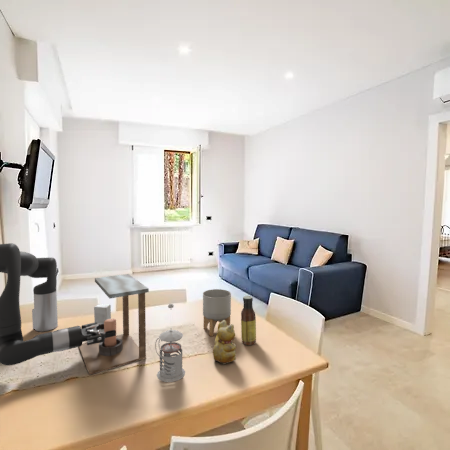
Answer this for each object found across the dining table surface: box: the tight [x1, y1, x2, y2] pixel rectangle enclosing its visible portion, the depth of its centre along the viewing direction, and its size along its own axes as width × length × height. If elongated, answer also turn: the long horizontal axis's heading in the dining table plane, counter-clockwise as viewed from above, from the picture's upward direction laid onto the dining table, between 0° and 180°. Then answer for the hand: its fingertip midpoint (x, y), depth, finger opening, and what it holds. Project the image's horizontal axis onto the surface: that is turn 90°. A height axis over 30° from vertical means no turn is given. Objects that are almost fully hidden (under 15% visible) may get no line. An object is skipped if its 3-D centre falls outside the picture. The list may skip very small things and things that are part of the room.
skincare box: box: [93, 303, 112, 332], centre depth 137 cm, size 6×4×12 cm
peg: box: [104, 318, 117, 347], centre depth 117 cm, size 4×4×12 cm
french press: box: [154, 303, 186, 383], centre depth 103 cm, size 10×12×25 cm
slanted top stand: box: [78, 273, 150, 376], centre depth 117 cm, size 21×26×27 cm
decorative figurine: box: [212, 320, 237, 365], centre depth 112 cm, size 10×8×15 cm
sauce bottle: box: [240, 295, 257, 346], centre depth 126 cm, size 7×6×20 cm
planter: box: [202, 288, 232, 337], centre depth 138 cm, size 13×13×18 cm
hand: (112, 328), depth 118 cm, fingers open, 8 cm apart
